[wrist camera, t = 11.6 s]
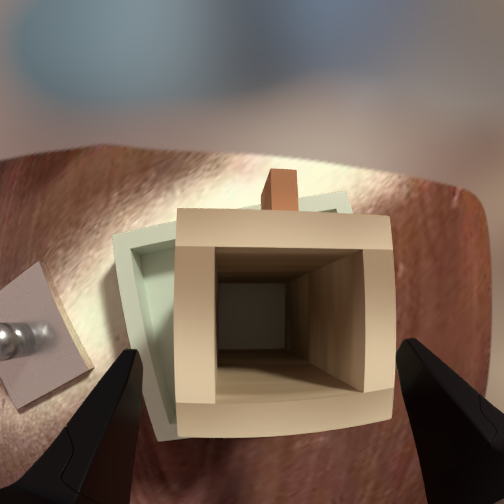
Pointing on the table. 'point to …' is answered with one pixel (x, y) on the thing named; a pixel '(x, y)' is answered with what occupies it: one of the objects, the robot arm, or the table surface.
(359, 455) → the table surface
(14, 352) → the stand
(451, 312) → the table surface
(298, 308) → the birch sleeve
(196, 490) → the table surface
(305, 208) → the green tray
